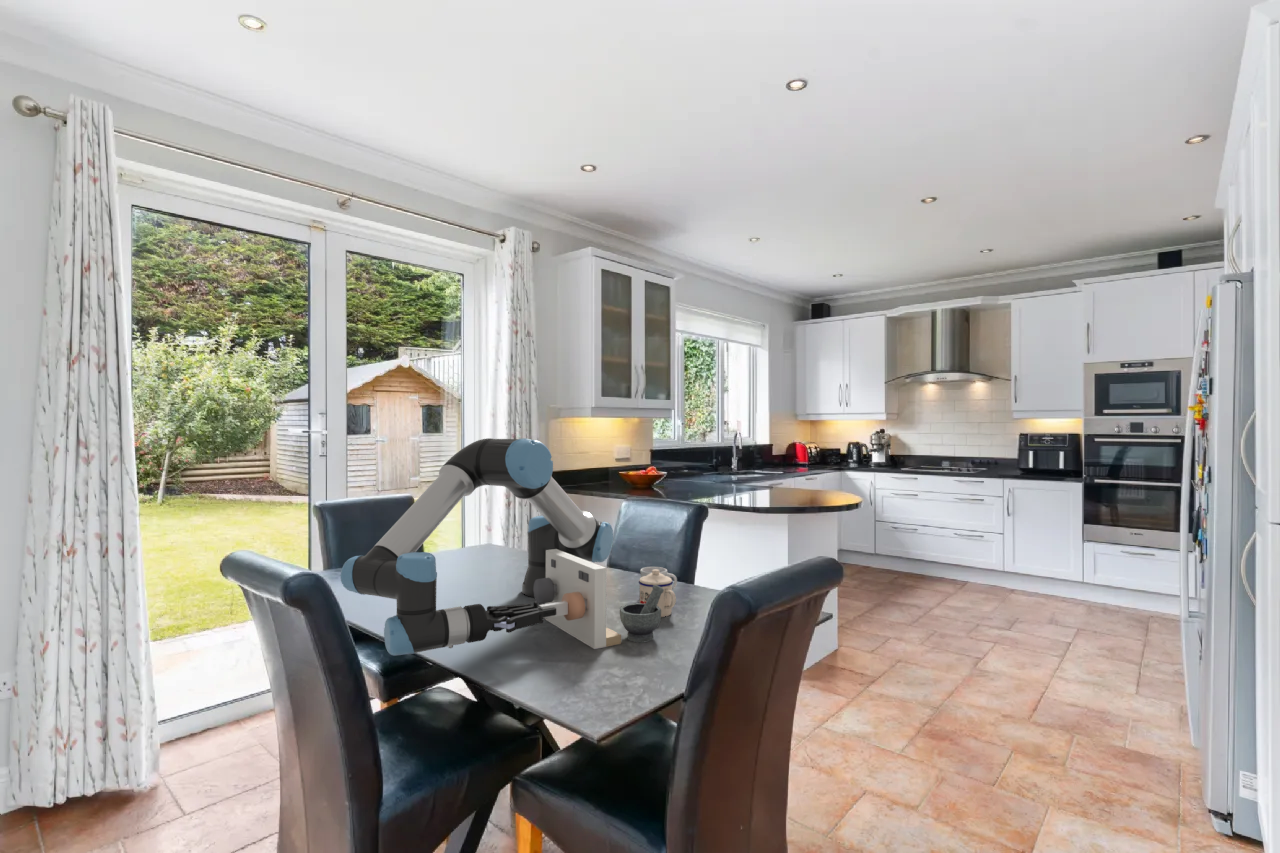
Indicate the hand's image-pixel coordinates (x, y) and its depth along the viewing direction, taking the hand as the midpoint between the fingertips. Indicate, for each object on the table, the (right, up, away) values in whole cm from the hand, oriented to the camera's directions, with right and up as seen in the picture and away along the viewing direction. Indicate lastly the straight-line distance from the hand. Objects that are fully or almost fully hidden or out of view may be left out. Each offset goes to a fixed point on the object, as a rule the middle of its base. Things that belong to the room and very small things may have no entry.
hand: (566, 607), depth 150 cm
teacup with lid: (+22, -9, +25) cm, 35 cm away
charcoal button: (-4, -3, +16) cm, 17 cm away
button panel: (+2, -9, +11) cm, 14 cm away
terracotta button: (+4, -3, +3) cm, 6 cm away
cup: (+22, -9, +43) cm, 49 cm away
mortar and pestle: (+17, -9, +7) cm, 21 cm away
